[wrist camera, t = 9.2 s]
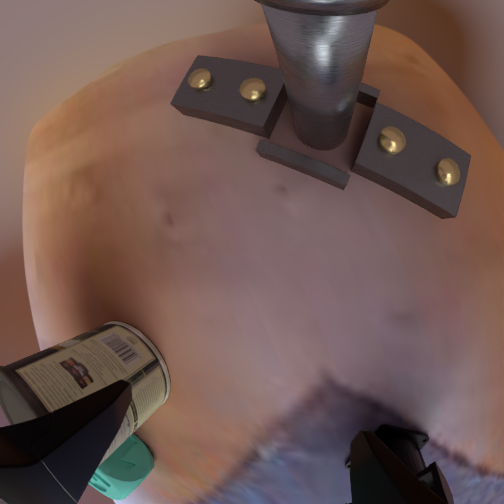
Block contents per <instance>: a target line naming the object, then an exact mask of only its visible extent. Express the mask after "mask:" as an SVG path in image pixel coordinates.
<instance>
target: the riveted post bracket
mask: <svg viewBox="0 0 504 504" xmlns="http://www.w3.org/2000/svg"><path fill="white" fill-rule="evenodd" d="M379 93H380V90H378V89H376V88H373V87H371V86H369V85H366V84H364V83H361V84H360V88H359V92H358V96H357V100H356V101H357V102H359V103H362V104H364V105H366V106H369V107H371V108H374V106H375V108H374V110H373V112H372V115H371V117H370V120H369V123H368V126H367V129H366V132H365V134H364V137H363V140H362V143H361V146H360V148H359V151H358V154H357V156H356V159H355V162H354V164H353V167H352V170H351V171H352V172H354V173H356V174H358V175H360V176H363V177H365V178H367V179H369V180H371V181H373V182H375V183H377V184H379V185H381V186H383V187H385V188H387V189H389V190H391V191H393V192H395V193H397V194H399V195H401V196H402V197H404V198H406V199H408V200H410V201H412V202H413V203H415V204H417V205H419V206H421V207H422V208H424V209H426V210H428V211H429V212H431V213H433V214H434V215H436V216H438V217H439V218H441V219H445V218H454V217H456V215H457V212H458V209H459V205H460V202H461V198H462V194H463V190H464V186H465V182H466V178H467V173H468V168H469V163H470V158H471V155H469V154H468V153H466V152H465V151H464V150H462V149H461V148H459V147H458V146H456V145H455V144H453V143H452V142H450V141H448V140H447V139H445V138H444V137H442V136H440V135H439V134H437V133H435V132H434V131H432V130H430V129H429V128H427V127H425V126H423V125H421V124H420V123H418V122H416V121H414V120H412V119H410V118H408V117H406V116H405V115H403V114H401V113H399V112H397V111H394V110H392V109H390V108H388V107H386V106H384V105H382V104H379V103H376V101H377V99H378V96H379ZM287 99H288V95H287V91H286V87H285V83H284V79H283V76H282V72H281V69H277V68H272V67H268V66H263V65H259V64H254V63H248V62H243V61H237V60H231V59H224V58H217V57H209V56H199V55H198V56H197V57H196V59H195V61H194V62H193V64H192V66H191V67H190V69H189V71H188V72H187V74H186V76H185V78H184V79H183V81H182V83H181V85H180V87H179V88H178V90H177V92H176V94H175V96H174V98H173V100H172V101H171V103H170V104H171V105H172V106H174V107H175V108H176V109H177V110H179V111H180V112H181V113H182V114H183V115H187V116H192V117H196V118H200V119H204V120H208V121H211V122H215V123H219V124H222V125H226V126H229V127H233V128H236V129H240V130H243V131H246V132H249V133H253V134H256V135H259V136H262V137H265V138H268V139H269V138H270V136H271V133H272V131H273V129H274V127H275V125H276V122H277V120H278V118H279V116H280V114H281V112H282V109H283V107H284V105H285V103H286V101H287ZM375 104H376V105H375ZM256 151H257V152H258V153H259V155H260V156H261V157H263V158H266V159H268V160H271V161H274V162H277V163H279V164H282V165H284V166H287V167H290V168H292V169H295V170H297V171H300V172H302V173H305V174H307V175H310V176H312V177H314V178H317V179H319V180H321V181H324V182H326V183H328V184H331V185H333V186H335V187H337V188H340V189H342V190H344V188H345V187H346V185H347V182H348V180H349V177H350V175H349V174H347V173H345V172H343V171H341V170H338V169H336V168H334V167H331V166H329V165H327V164H324V163H322V162H319V161H317V160H314V159H312V158H309V157H307V156H304V155H302V154H299V153H296V152H294V151H291V150H288V149H286V148H283V147H280V146H277V145H275V144H272V143H269V142H266V141H263V140H260V142H259V144H258V146H257V148H256Z"/></svg>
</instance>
